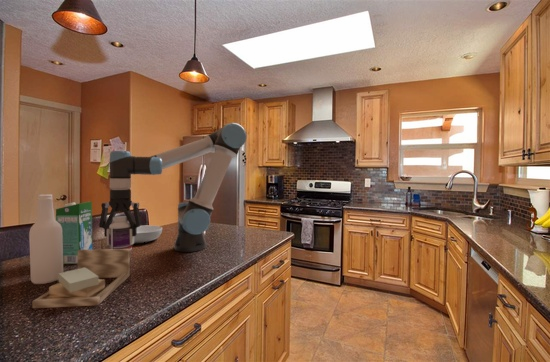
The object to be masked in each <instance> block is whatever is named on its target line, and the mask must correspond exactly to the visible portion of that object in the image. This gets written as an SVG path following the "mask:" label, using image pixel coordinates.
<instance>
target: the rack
mask: <svg viewBox="0 0 550 362" xmlns="http://www.w3.org/2000/svg"><path fill="white" fill-rule="evenodd" d="M130 258H131V251H130V249H109V248H106V249H105V248H102V249H92V250H78V264H77V269H80V268H84V267H85V268H87V269H88V270H90V271H91V272H93V273H94V274H96V275H97V276H98V279H107V278H110V279H111V278H115V280H113V281H112V282H111V283H110V284H108V285H107V286H105V288H104V290H103V291H102V292H100V293H99V294H98V295H97V296H96V297H75V298H52V299H47V297H49V290H48V291H47V292H45V293H44V294H42V295H40V296H38V297H37V298H35V299H34V300H32V302H31V303H32V304H31V305H32V309H44V308H49V309H50V308H67V307H68V308H69V307H85V306H86V307H87V306H90V307H91V306H98V305H100V304H101V303H102V302H103V301H104V300H105V299H107V297H109V296H110V295H111V294H112V293H113V292H114V291H115V290H116V289H117V288H118V287H120V285H122V284H123V283H124V282H125V281H126V280H127V279H128V278H129V277H130V276H131V259H130Z"/></svg>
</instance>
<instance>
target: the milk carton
mask: <svg viewBox="0 0 550 362" xmlns="http://www.w3.org/2000/svg"><path fill="white" fill-rule="evenodd" d="M55 219H56V221H57V222H58V223H59V224H60V225H61V227H62V238H63V265H71V264H72V265H73V264H74V265H76V264H77V265H78V250H93V203H92V201H86V202H81V203H76V202H75V201H73V202H69V203H65V204H64V205H63V207H59V208H55Z"/></svg>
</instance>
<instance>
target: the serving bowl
mask: <svg viewBox="0 0 550 362" xmlns="http://www.w3.org/2000/svg"><path fill="white" fill-rule="evenodd" d="M162 232H163V227H162V226H161V225H160V226H159V225H151V224H150V225H146V224H145V225H141V226H139V227H137V235H136V236H134V244H144V242H145V243H148V242H151V241H155V240H156V239H158V238H159V237H160V236H161V234H162Z"/></svg>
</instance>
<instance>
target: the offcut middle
mask: <svg viewBox="0 0 550 362" xmlns="http://www.w3.org/2000/svg"><path fill="white" fill-rule="evenodd" d="M98 279H99V285H95V286H91V287H88V288H84V289H81V290H77V291H74V292H69V291H68V290H67V289H66V288H65V287H64V286H63V285H62V284H61V283H60V282H59V281H58V282H57V283H56V284H53V285H51V286H49V287H48V289H49V290H48V291H49V296H67V297H89V296H91V295H93V294H95V293H96V292H98V291H100V290H101V289H103V288H104V289H105V288H106V279H105V278H98Z"/></svg>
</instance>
